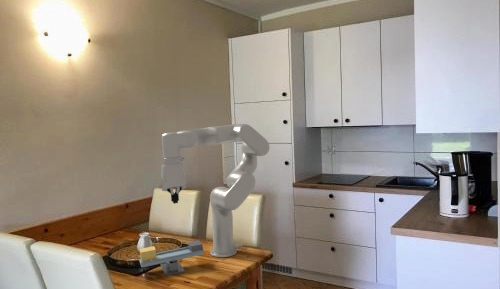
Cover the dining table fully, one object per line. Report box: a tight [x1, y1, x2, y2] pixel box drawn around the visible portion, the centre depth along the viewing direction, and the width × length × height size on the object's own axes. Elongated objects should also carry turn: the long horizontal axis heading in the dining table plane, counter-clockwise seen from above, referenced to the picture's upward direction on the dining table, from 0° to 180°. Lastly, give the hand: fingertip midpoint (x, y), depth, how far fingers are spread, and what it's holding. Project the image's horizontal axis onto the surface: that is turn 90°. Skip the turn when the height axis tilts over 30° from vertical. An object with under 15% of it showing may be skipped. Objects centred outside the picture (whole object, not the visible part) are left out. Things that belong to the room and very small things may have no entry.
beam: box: [138, 239, 205, 268], centre depth 164 cm, size 26×9×5 cm, turn 111°
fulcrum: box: [160, 260, 185, 276], centre depth 165 cm, size 8×12×4 cm, turn 21°
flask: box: [142, 235, 152, 248], centre depth 179 cm, size 7×7×10 cm
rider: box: [139, 245, 157, 262], centre depth 161 cm, size 6×5×4 cm
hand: (175, 202), depth 169 cm, fingers closed
